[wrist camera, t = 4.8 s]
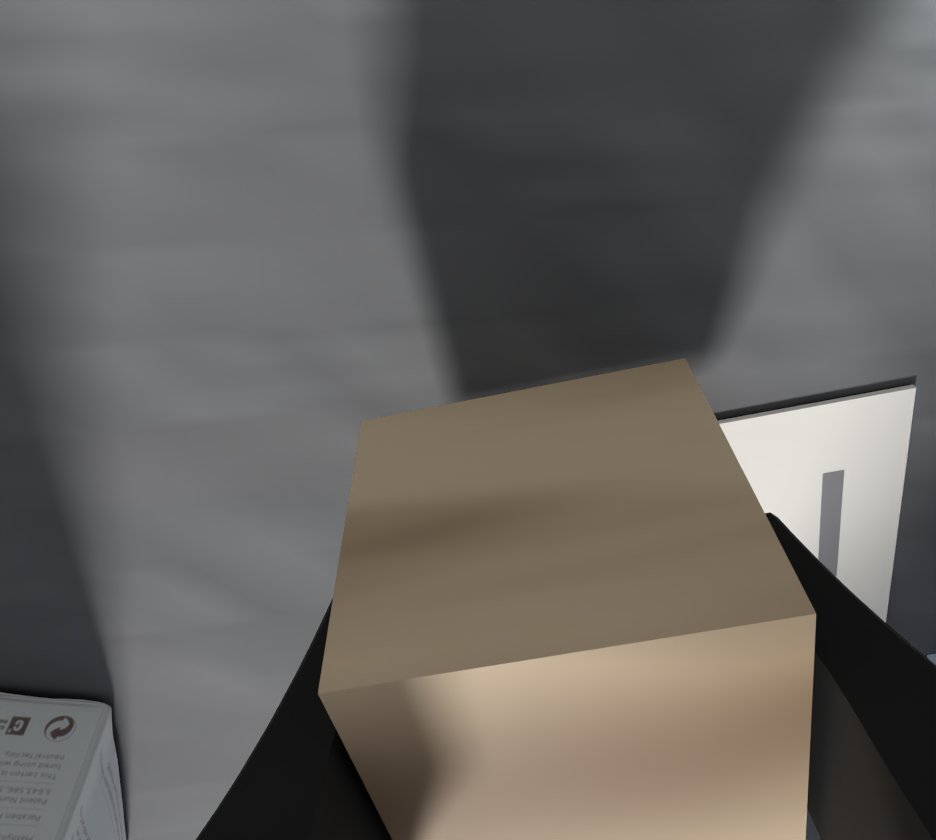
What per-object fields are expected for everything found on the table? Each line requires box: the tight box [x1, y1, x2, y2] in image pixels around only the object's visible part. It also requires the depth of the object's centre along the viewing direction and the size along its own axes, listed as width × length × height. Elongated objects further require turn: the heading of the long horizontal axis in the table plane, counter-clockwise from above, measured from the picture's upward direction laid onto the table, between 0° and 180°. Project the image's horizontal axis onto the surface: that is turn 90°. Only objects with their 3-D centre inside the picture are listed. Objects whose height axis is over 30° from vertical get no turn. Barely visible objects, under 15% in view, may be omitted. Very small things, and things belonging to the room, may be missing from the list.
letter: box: [718, 385, 916, 622], centre depth 19 cm, size 12×9×1 cm
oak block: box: [318, 358, 816, 840], centre depth 11 cm, size 5×5×5 cm
